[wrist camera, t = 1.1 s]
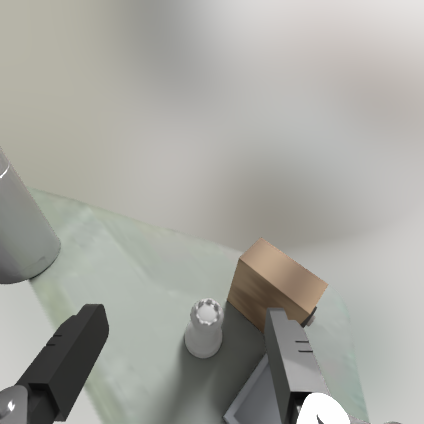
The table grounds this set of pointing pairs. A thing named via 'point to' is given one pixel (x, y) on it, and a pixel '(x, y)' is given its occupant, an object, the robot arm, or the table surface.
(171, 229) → the table surface
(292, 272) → the block
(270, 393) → the tray
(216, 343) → the rook chess piece
